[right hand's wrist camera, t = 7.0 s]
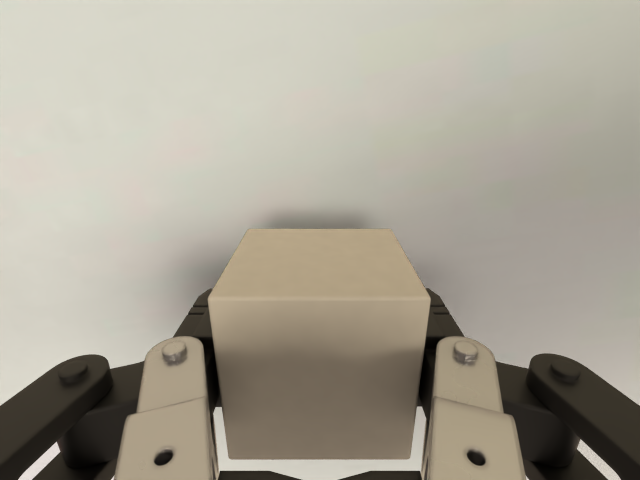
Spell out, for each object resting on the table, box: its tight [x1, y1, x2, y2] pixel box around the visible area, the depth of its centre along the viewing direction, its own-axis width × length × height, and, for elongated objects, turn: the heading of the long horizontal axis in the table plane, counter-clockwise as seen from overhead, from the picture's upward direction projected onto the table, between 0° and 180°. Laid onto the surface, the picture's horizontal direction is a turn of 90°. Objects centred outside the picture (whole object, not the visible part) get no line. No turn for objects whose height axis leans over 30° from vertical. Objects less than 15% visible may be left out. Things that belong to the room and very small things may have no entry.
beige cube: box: [208, 229, 431, 459], centre depth 11 cm, size 5×5×5 cm
